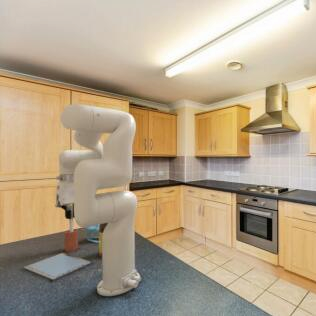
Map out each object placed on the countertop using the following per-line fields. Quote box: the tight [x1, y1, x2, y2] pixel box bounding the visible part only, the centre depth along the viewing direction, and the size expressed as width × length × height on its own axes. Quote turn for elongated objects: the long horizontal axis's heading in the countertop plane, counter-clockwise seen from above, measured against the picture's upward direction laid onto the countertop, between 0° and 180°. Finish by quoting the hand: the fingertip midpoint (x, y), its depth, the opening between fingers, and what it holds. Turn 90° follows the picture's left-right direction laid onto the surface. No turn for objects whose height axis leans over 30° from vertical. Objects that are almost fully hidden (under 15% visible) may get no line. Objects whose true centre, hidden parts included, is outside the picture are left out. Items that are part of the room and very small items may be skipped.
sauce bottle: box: [98, 223, 108, 258], centre depth 93 cm, size 7×6×20 cm
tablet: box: [23, 252, 92, 282], centre depth 83 cm, size 20×13×1 cm, turn 66°
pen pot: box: [64, 228, 79, 253], centre depth 97 cm, size 5×5×9 cm
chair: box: [85, 224, 100, 244], centre depth 108 cm, size 8×8×12 cm
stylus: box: [68, 205, 74, 232], centre depth 96 cm, size 1×1×15 cm
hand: (71, 217), depth 96 cm, fingers closed on stylus, 1 cm apart
